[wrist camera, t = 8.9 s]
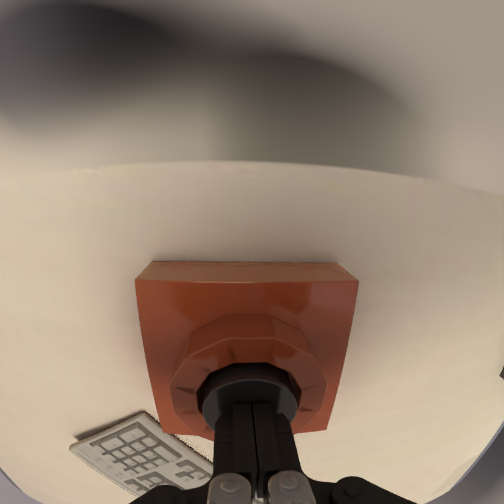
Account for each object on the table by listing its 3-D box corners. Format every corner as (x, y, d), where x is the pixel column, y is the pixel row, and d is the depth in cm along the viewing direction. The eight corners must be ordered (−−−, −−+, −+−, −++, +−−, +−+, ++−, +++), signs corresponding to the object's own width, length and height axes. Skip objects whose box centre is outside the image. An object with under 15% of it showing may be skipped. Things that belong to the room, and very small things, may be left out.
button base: (151, 260, 15) (118, 296, 10) (337, 262, 15) (378, 296, 10) (169, 402, 17) (157, 457, 12) (315, 400, 18) (334, 452, 13)
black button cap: (202, 350, 12) (198, 379, 10) (293, 349, 12) (303, 377, 10) (207, 412, 13) (205, 441, 11) (285, 410, 13) (292, 438, 11)
